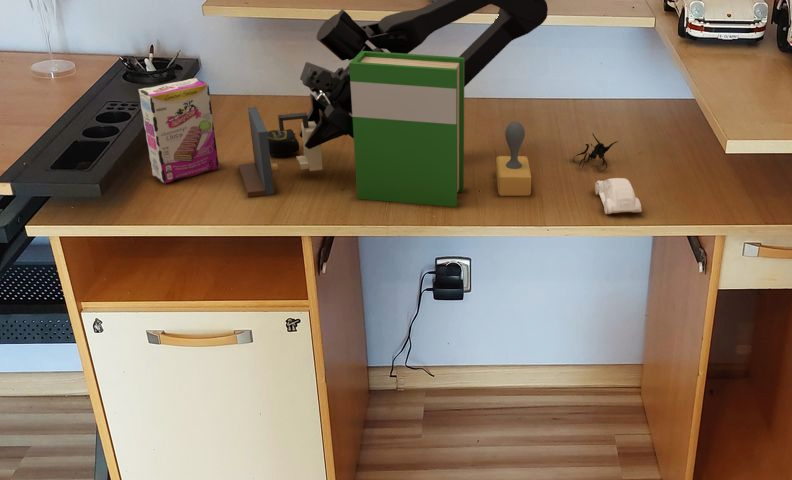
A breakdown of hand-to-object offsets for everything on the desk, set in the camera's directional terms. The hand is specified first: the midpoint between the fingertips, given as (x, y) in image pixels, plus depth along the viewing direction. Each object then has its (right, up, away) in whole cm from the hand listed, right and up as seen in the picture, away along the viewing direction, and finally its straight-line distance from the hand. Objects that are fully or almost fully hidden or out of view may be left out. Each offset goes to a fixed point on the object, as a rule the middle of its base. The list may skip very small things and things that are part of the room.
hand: (303, 142), depth 163 cm
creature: (+53, -2, +12) cm, 55 cm away
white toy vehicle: (+56, -12, -3) cm, 57 cm away
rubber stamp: (+38, -8, +2) cm, 39 cm away
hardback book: (+20, -10, -2) cm, 22 cm away
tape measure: (-7, 0, +13) cm, 15 cm away
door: (-7, -7, +1) cm, 10 cm away
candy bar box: (-22, -5, +3) cm, 23 cm away
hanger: (-1, -4, +2) cm, 5 cm away
